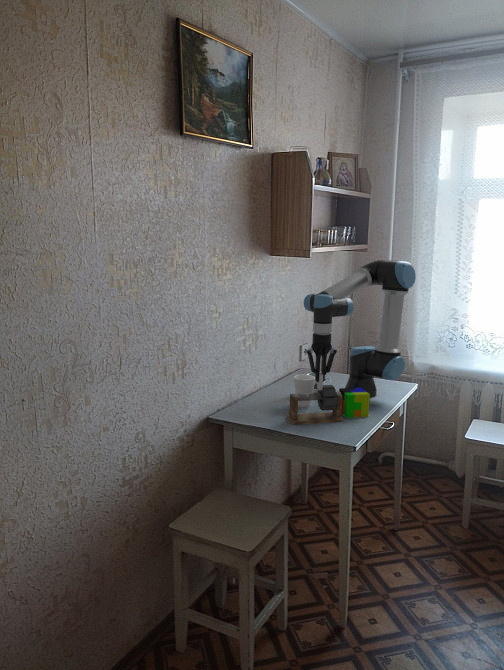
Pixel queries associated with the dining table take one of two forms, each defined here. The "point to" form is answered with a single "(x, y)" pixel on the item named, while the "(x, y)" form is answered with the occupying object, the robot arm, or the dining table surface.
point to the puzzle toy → (355, 402)
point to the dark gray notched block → (328, 398)
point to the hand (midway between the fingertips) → (319, 389)
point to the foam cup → (304, 387)
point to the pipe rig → (313, 417)
